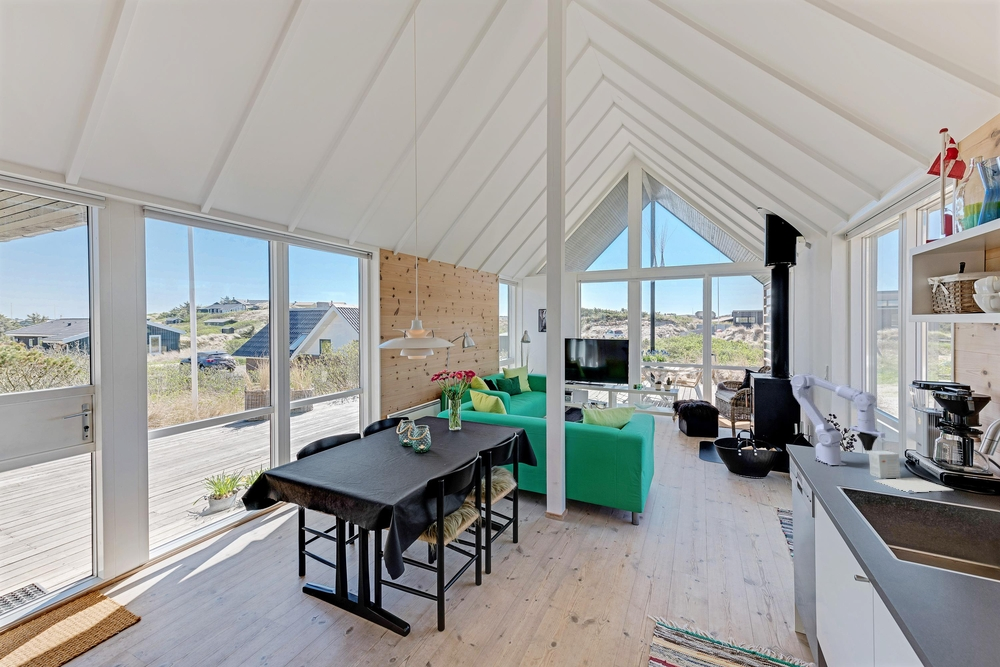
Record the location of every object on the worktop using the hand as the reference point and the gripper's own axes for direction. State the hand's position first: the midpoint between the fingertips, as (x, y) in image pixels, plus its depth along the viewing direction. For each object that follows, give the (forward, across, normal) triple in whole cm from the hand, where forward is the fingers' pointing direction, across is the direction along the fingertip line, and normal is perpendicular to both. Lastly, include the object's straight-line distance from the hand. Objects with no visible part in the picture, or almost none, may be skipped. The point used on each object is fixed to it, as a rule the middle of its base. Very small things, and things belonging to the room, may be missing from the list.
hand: (868, 450), depth 181 cm
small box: (+10, -7, 0) cm, 12 cm away
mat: (+9, -18, 0) cm, 20 cm away
